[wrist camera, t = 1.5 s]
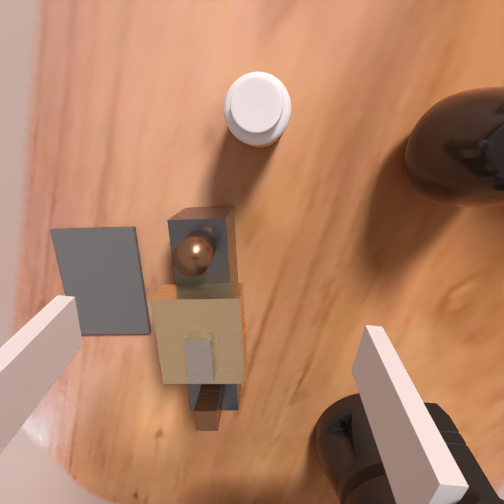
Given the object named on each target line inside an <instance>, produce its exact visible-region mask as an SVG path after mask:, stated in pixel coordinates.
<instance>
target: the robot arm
mask: <svg viewBox="0 0 504 504" xmlns="http://www.w3.org/2000/svg"><path fill="white" fill-rule="evenodd" d="M82 345H83V343H82V337H81V331H80V325H79V319H78V313H77V307H76V301H75V297H72V296H61V295H57V296H56V297H55V298H54V299H53V300H52V301H51V302H50V303H49V304H48V305H46V306H45V307H44V308H43V309H42V310H41V311H40V312H39V313H38V314H37V315H36V316H35V317H33V318H32V319H31V320H30V321H29V322H28V323H27V324H26V325H25V326H24V327H23V328H21V329H20V330H19V331H18V332H17V333H16V334H15V335H14V336H13V337H12V338H11V339H10V340H8V341H7V342H6V343H5V344H4V345H3V346H2V347H1V348H0V454H1V452H2V451H3V450H4V449H5V447H6V446H7V444H8V443H9V442H10V441H11V439H12V438H13V437H14V435H15V434H16V433H17V431H18V430H19V429H20V427H21V426H22V425H23V423H24V422H25V421H26V420H27V418H28V417H29V416H30V414H31V413H32V412H33V410H34V409H35V408H36V406H37V405H38V404H39V402H40V401H41V400H42V398H43V397H44V396H45V394H46V393H47V392H48V390H49V389H50V388H51V386H52V385H53V384H54V382H55V381H56V380H57V378H58V377H59V376H60V374H61V373H62V372H63V370H64V369H65V368H66V366H67V365H68V364H69V363H70V361H71V360H72V359H73V357H74V356H75V355H76V353H77V352H78V351H79V349H80V348H81V347H82ZM352 373H353V376H354V379H355V382H356V385H357V388H358V391H359V394H355V395H352V396H349V397H346V398H344V399H342V400H340V401H338V402H336V403H335V404H333V405H332V406H331V407H329V408H328V409H327V410H326V411H325V412H324V414H323V415H322V416H321V418H320V419H319V421H318V423H317V426H316V430H315V444H316V450H317V456H318V459H319V462H320V464H321V466H322V468H323V470H324V472H325V474H326V476H327V478H328V479H329V481H330V483H331V485H332V487H333V489H334V490H335V492H336V494H337V496H338V498H339V500H340V503H341V504H504V500H502V499H500V498H499V497H498V495H497V494H496V492H495V491H494V489H493V488H492V486H491V484H490V483H489V481H488V479H487V478H486V476H485V474H484V473H483V471H482V469H481V468H480V466H479V464H478V463H477V461H476V459H475V458H474V456H473V454H472V453H471V451H470V449H469V448H468V446H466V443H465V441H464V439H463V438H462V436H461V434H459V431H458V429H457V428H456V426H455V424H454V423H453V421H452V419H451V418H450V416H449V415H448V414H447V413H446V412H445V411H444V410H443V409H442V408H441V407H440V406H439V405H438V404H435V403H424V402H423V401H422V399H421V397H420V395H419V394H418V392H417V390H416V388H415V386H414V384H413V383H412V381H411V379H410V377H409V375H408V373H407V371H406V370H405V368H404V366H403V364H402V362H401V360H400V359H399V357H398V355H397V353H396V351H395V349H394V347H393V346H392V344H391V342H390V340H389V338H388V336H387V335H386V333H385V331H384V329H383V327H380V326H370V325H365V328H364V332H363V335H362V338H361V341H360V345H359V348H358V351H357V355H356V358H355V361H354V364H353V368H352Z"/></svg>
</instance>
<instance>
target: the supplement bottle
mask: <svg viewBox="0 0 504 504" xmlns="http://www.w3.org/2000/svg"><path fill="white" fill-rule="evenodd" d="M290 116H291V100H290V97H289V94H288V91H287V89H286V88H285V86H284V85H283V84H282V82H281V81H280V80H278V79H277V78H276V77H274V76H273V75H271V74H268V73H265V72H251V73H248V74H245V75H243V76H241V77H240V78H238V79H237V80H236V81H235V82H234V83H233V84H232V85H231V87H230V88H229V90H228V92H227V94H226V97H225V101H224V117H225V121H226V124H227V126H228V128H229V130H230V131H231V132H232V134H233V135H234V136H235V137H236V138H237V139H239V140H240V141H242V142H244V143H246V144H247V145H250V146H253V147H266V146H269V145H271V144H273V143H275V142H276V141H277V140H278V139H279V138H280V137H281V135H282V134H283V132H284V131H285V129H286V127H287V125H288V123H289V120H290Z"/></svg>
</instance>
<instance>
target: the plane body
mask: <svg viewBox="0 0 504 504" xmlns="http://www.w3.org/2000/svg"><path fill="white" fill-rule="evenodd" d="M168 228H169V236H170V245H171V253H172V261H173V270H174V278H175V284H220V283H238V273H237V256H236V238H235V221H234V206H229V207H198V208H185V209H184V210H182V211H181V212H179V213H177V214H176V215H174V216H173V217H171V218H170V219H168ZM187 386H188V394H189V403H190V410H194V417H195V425H196V430H200V431H218V427H219V421H220V416H221V410H239V401H240V392H241V384H187Z"/></svg>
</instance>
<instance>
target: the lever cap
mask: <svg viewBox="0 0 504 504" xmlns="http://www.w3.org/2000/svg"><path fill="white" fill-rule="evenodd" d="M151 306H152V313H153V320H154V327H155V333H156V340H157V347H158V354H159V360H160V367H161V374H162V381H163V384H245V375H246V365H247V354H246V334H245V315H244V296H243V283H220V284H167V285H162V286H161V288H160V289H159V290H158V291H157V293H156V294H155V295H154V296H153V298H152V299H151Z"/></svg>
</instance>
